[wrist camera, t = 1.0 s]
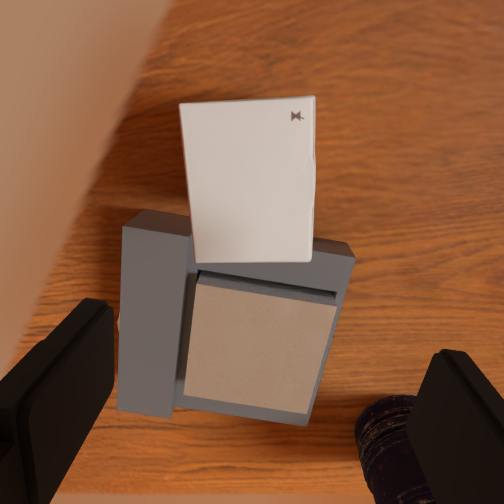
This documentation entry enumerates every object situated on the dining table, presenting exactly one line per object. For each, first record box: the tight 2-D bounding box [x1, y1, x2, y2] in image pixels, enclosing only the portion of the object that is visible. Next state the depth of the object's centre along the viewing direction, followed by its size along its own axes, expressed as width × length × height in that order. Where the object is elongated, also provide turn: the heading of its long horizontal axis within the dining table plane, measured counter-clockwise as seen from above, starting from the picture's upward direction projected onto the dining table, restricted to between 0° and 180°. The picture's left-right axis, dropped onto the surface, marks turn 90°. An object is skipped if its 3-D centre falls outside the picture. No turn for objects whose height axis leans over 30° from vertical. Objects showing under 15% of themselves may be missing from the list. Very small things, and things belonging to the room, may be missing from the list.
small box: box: [178, 95, 316, 263], centre depth 23 cm, size 8×6×13 cm
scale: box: [117, 209, 356, 427], centre depth 32 cm, size 18×18×5 cm
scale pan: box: [184, 270, 337, 414], centre depth 31 cm, size 11×11×3 cm
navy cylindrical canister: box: [354, 395, 436, 504], centre depth 32 cm, size 10×10×15 cm
